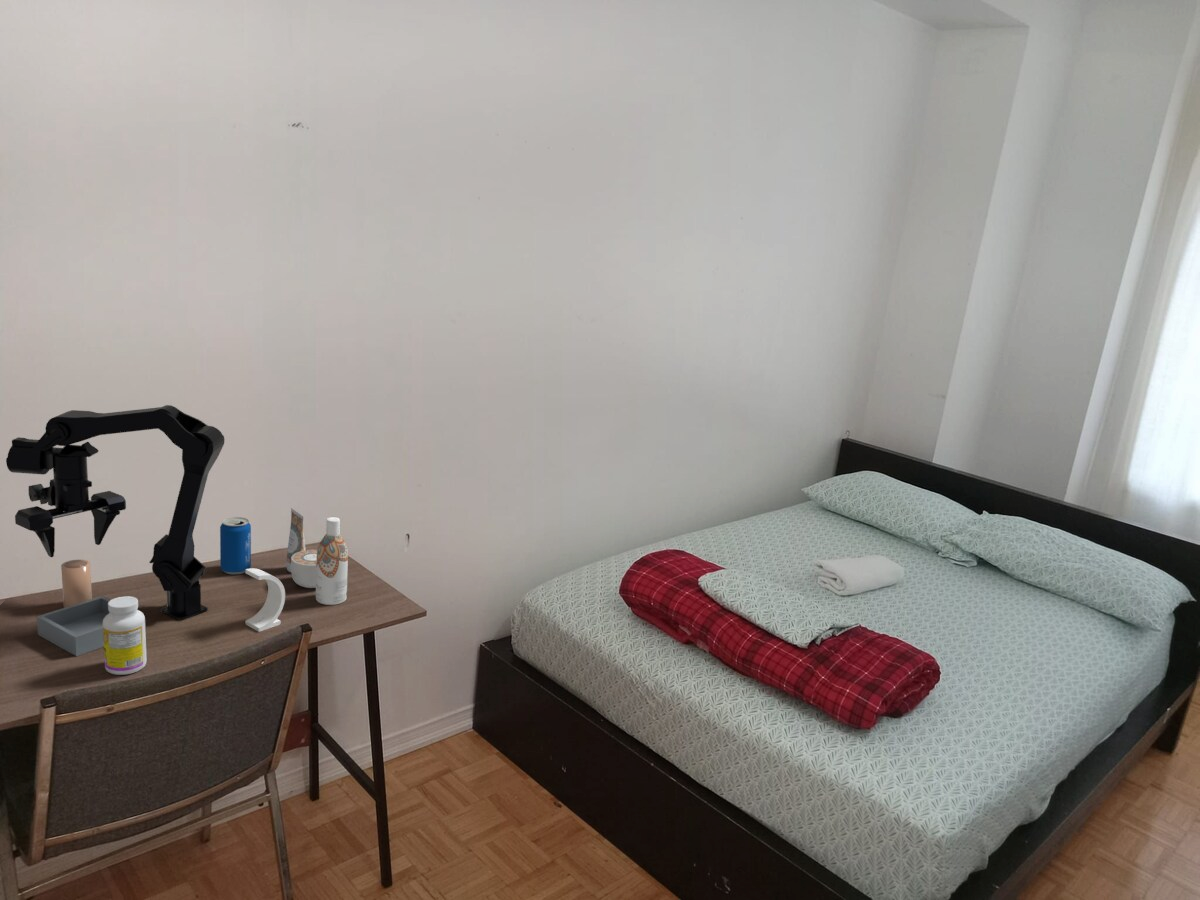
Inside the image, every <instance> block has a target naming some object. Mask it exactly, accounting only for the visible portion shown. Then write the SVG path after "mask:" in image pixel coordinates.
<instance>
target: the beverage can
mask: <svg viewBox="0 0 1200 900" xmlns="http://www.w3.org/2000/svg"><path fill="white" fill-rule="evenodd" d="M219 537H220V539H219V548H220V549H219V550H220V552H219V553H220V554H219V555H220V558H219V559H220V563H219V564H220V565H219V566H220V570H221V571H222V572H224V573H226V574H228V575H242V574H246V573H245V569H250V568H251V567H252V525H251V524H250V520H249V519H248V518H246V517H239V516H231V517H227V518H224V519H223V520H222V522H221V525H220V526H219Z"/></svg>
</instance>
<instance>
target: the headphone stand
mask: <svg viewBox="0 0 1200 900" xmlns="http://www.w3.org/2000/svg"><path fill="white" fill-rule="evenodd" d="M244 574H246V575H249V576H250V577H252V578H253V579H256V580H258V581H263V580H264V581H265V582H266V584H267V595H266V596H267V597H266V600H265V602H264V604H263V605H262V607H261V608H260V610H259V611H258V612H257V613H256V614H255V615H254V616H252V617H250V618H248V619H246V620H245V625H246V626H248V627H250V628H251V629H253V630H254V631H256V632H258V633H260V632H262V631H266V630H268V629H271V628H273V627H277V626H280V625H281V622H282V621H281V620H280V619H278V617H279V616H280V615H281V613H282V611H283V608H284V606H285V603H286V590H285V586H284V585H283V583H282V582H281V580H280V579H279V578H278V577H276V576H274V575H272V574H270V573H268V572H266V571H263V570H261V569H259V568H253V567H252V568H250V569H245V573H244Z"/></svg>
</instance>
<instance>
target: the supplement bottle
mask: <svg viewBox="0 0 1200 900" xmlns="http://www.w3.org/2000/svg"><path fill="white" fill-rule="evenodd" d="M138 608H139V600H138V598H137V597H135V596H129V595H128V596H124V595H123V596H119V597H115V598H112V599H111V600H110V601H109V602H108V610H109V612H110V613H109V614H108V615H106V616H105V618H104V619H103V639H104V647H103V653H104V654H103V657H104V660H103V661H104V668H105V670H106V672H108V673H110V674H112V675H115V676H116V675H117V676H120V675H122V676H123V675H130V674H133V673H137V672H139V671H140V670H142V669H143V668H144V667H146V665H147V662H148V661H147V640H146V639H147V634H146V617H145V615H144V612H142V611H140V610H139V609H138Z"/></svg>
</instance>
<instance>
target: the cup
mask: <svg viewBox="0 0 1200 900" xmlns="http://www.w3.org/2000/svg"><path fill="white" fill-rule="evenodd" d="M60 567H61V584H62V585H61V586H62V600H63V601H62V604H63V608H65V607H69V606H72V605H75V604H78V603H81V602H85V601H88V600H91V599H93V595H92V592H93V591H92V573H91V572H92V570H91V562H90V561H89V560H87V559H72V560H68V561H67V560H66V561H65V562H63V563H62V564H61V566H60Z"/></svg>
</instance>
